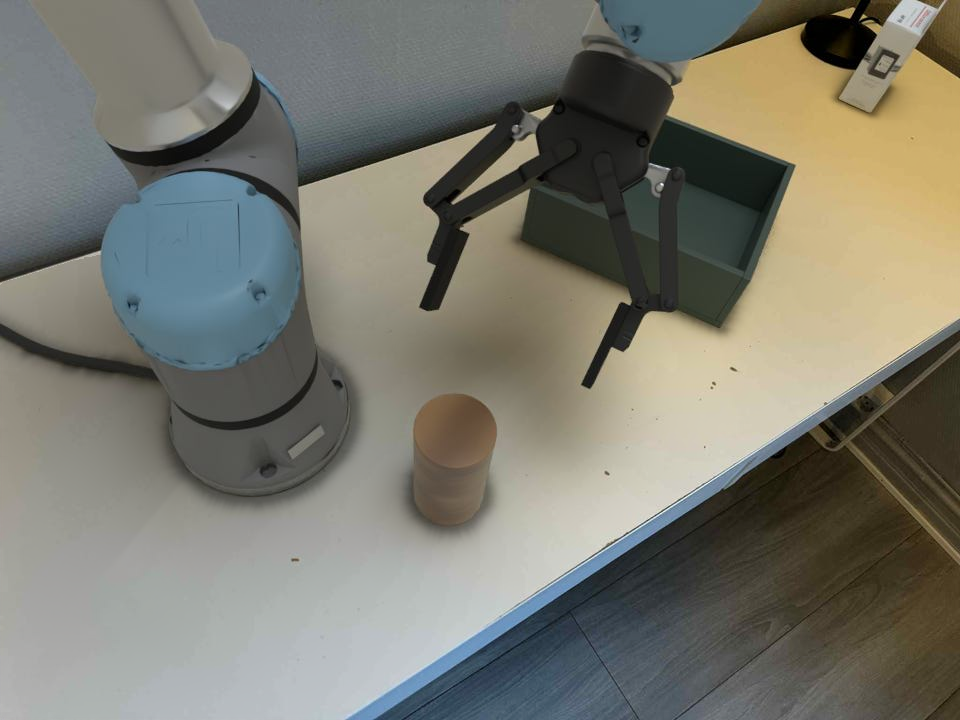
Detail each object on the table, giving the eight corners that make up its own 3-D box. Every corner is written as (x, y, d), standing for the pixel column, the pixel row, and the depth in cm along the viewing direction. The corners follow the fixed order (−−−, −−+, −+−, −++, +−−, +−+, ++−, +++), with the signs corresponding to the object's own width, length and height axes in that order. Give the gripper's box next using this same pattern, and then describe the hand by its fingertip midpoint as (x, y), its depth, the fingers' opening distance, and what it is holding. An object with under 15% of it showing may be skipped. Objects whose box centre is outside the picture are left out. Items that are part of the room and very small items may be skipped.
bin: (520, 239, 74) (530, 186, 68) (587, 143, 85) (601, 89, 78) (719, 328, 70) (751, 280, 63) (765, 215, 80) (796, 164, 73)
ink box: (856, 73, 99) (919, -30, 86) (888, 87, 97) (957, -15, 85) (836, 99, 94) (900, -5, 82) (869, 114, 93) (939, 11, 81)
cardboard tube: (400, 504, 56) (397, 442, 46) (435, 449, 60) (440, 380, 49) (461, 539, 55) (472, 482, 45) (494, 480, 58) (511, 416, 48)
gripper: (792, 145, 47) (659, 408, 52) (482, 29, 52) (386, 278, 57) (815, 122, 40) (657, 430, 45) (453, -11, 45) (346, 279, 49)
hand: (505, 346), depth 51 cm, fingers open, 13 cm apart
